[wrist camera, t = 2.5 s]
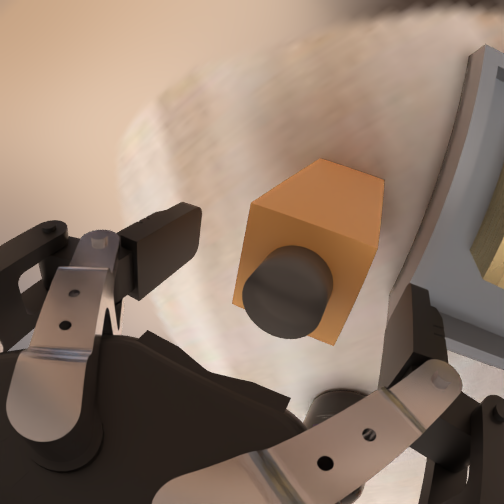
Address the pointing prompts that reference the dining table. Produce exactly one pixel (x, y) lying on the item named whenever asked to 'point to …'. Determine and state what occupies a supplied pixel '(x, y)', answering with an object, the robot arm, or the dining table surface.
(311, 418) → the supplement bottle
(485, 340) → the walled box
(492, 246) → the inlet
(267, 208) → the block
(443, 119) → the dining table surface
